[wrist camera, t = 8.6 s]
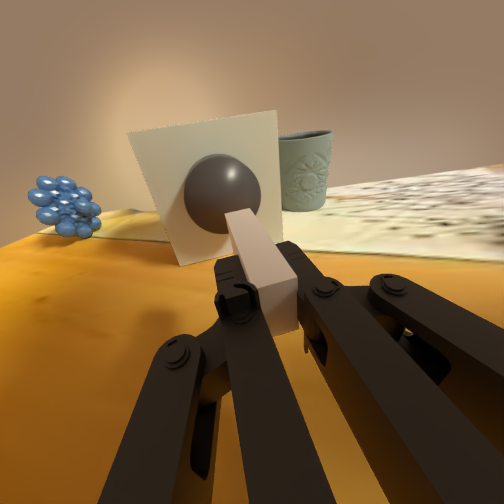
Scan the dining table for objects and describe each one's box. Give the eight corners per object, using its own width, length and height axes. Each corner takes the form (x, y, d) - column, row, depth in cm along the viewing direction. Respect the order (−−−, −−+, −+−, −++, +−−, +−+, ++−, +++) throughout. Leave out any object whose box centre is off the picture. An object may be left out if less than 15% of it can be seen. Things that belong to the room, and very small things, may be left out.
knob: (244, 197, 33) (235, 141, 29) (264, 225, 24) (256, 151, 20) (194, 207, 32) (177, 151, 28) (196, 241, 23) (172, 166, 19)
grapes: (88, 251, 36) (39, 180, 29) (53, 254, 36) (-2, 186, 30) (125, 221, 45) (95, 163, 39) (97, 224, 46) (63, 167, 39)
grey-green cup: (313, 217, 36) (316, 138, 29) (265, 208, 41) (259, 141, 35) (336, 197, 42) (343, 128, 35) (291, 192, 48) (290, 132, 41)
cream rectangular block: (266, 219, 37) (256, 112, 28) (283, 241, 31) (276, 109, 22) (181, 239, 35) (142, 130, 26) (180, 266, 28) (126, 133, 20)
